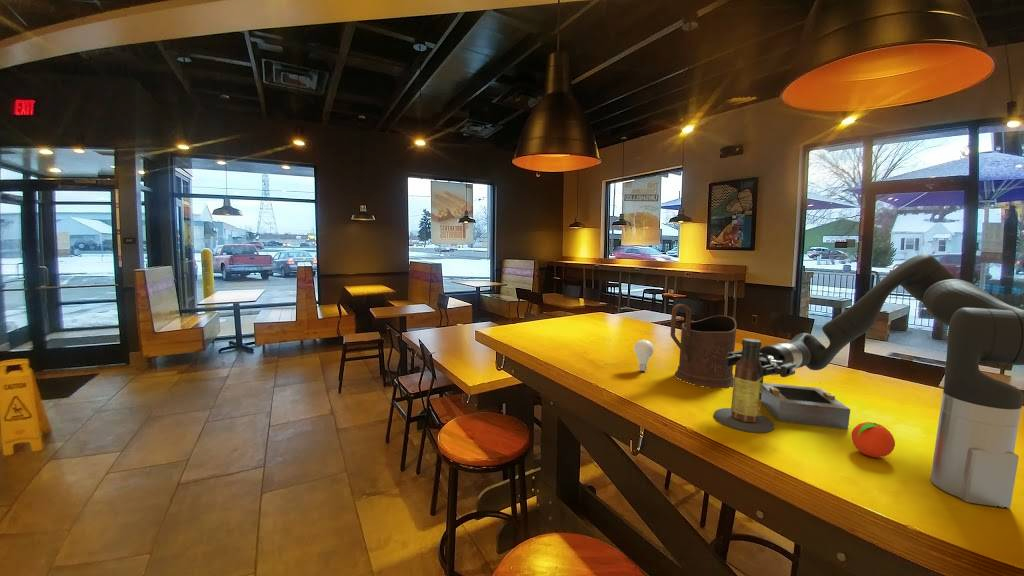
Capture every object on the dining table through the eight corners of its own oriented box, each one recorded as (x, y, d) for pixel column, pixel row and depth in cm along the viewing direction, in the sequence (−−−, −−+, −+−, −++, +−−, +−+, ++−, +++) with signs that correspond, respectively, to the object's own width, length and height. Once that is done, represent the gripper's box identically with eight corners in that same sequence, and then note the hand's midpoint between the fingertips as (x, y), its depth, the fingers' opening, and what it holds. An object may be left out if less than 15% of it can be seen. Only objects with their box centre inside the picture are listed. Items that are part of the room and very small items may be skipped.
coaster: (782, 436, 95) (783, 433, 95) (720, 428, 98) (721, 426, 98) (763, 413, 107) (763, 411, 107) (709, 407, 110) (709, 405, 110)
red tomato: (873, 466, 82) (877, 432, 82) (837, 449, 89) (841, 418, 88) (901, 461, 85) (905, 428, 84) (864, 445, 91) (868, 414, 90)
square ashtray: (848, 429, 99) (850, 405, 99) (777, 421, 103) (780, 398, 102) (818, 405, 114) (820, 385, 113) (758, 399, 117) (759, 379, 117)
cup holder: (750, 385, 129) (757, 306, 127) (691, 393, 121) (697, 309, 118) (703, 367, 147) (708, 298, 144) (648, 374, 138) (653, 300, 135)
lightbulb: (628, 369, 142) (630, 338, 141) (643, 367, 145) (645, 337, 144) (641, 375, 136) (643, 342, 135) (656, 373, 139) (658, 341, 138)
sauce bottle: (763, 425, 99) (772, 344, 96) (734, 422, 100) (743, 342, 97) (752, 414, 105) (761, 338, 103) (726, 411, 106) (734, 336, 104)
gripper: (752, 338, 114) (717, 345, 106) (811, 350, 102) (776, 359, 93) (750, 365, 115) (715, 373, 106) (808, 380, 103) (773, 391, 94)
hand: (743, 366), depth 100 cm, fingers open, 8 cm apart
